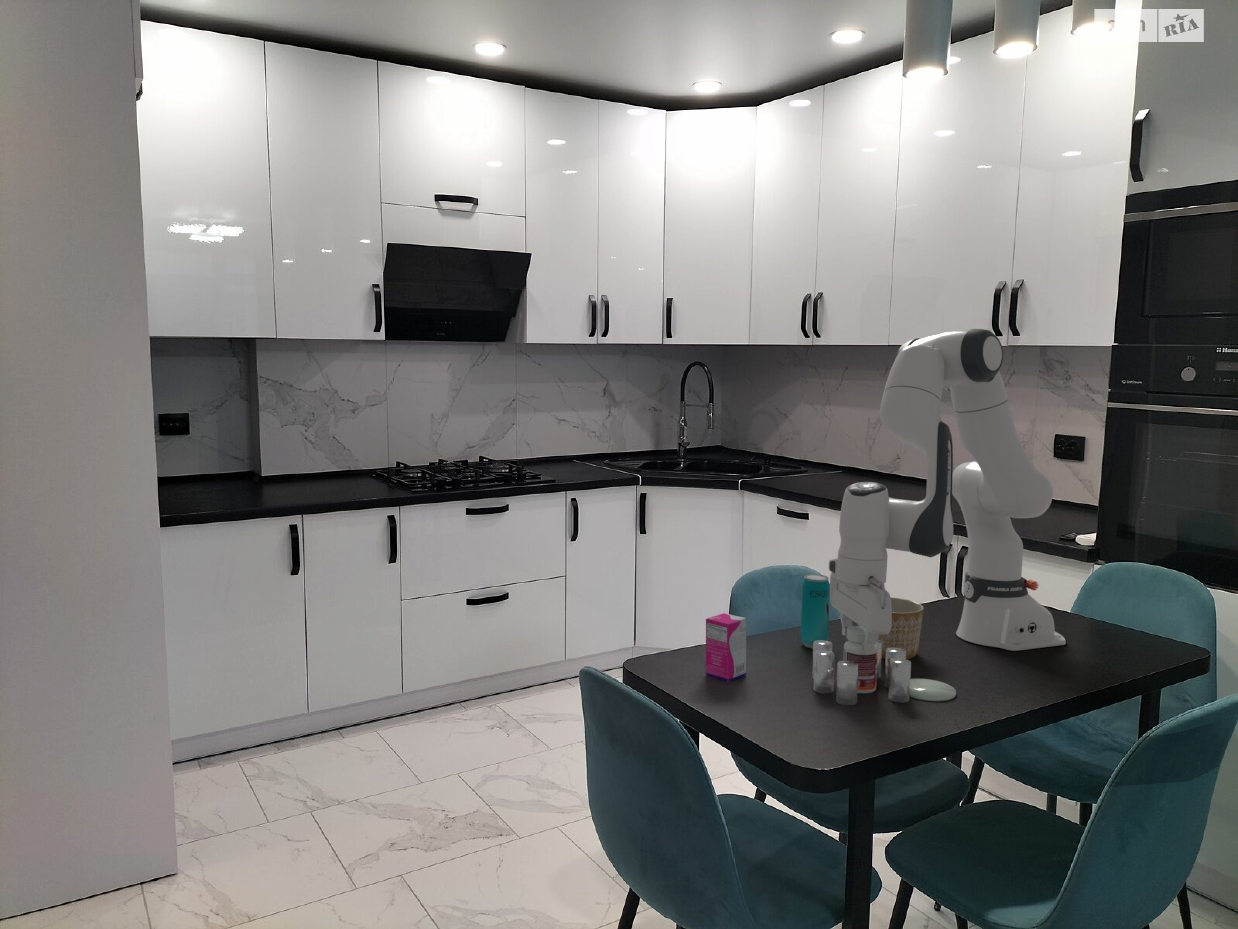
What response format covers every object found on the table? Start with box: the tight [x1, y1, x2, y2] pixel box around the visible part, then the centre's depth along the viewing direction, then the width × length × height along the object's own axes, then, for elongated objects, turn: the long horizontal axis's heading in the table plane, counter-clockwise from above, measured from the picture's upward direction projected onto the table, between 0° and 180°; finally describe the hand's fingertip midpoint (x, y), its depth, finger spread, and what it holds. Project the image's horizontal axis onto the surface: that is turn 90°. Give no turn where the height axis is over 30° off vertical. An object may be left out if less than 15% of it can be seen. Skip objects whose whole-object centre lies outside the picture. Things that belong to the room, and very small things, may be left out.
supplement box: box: [705, 612, 747, 683], centre depth 175 cm, size 6×6×12 cm
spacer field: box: [811, 639, 912, 706], centre depth 168 cm, size 18×16×7 cm
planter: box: [878, 596, 925, 660], centre depth 189 cm, size 13×13×10 cm
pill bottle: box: [842, 625, 878, 694], centre depth 168 cm, size 6×6×11 cm
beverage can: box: [800, 573, 830, 649], centre depth 194 cm, size 6×6×15 cm
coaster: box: [909, 678, 957, 702], centre depth 168 cm, size 10×10×1 cm
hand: (857, 644), depth 168 cm, fingers open, 8 cm apart
